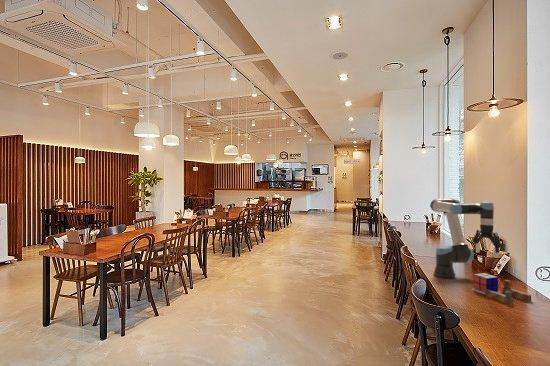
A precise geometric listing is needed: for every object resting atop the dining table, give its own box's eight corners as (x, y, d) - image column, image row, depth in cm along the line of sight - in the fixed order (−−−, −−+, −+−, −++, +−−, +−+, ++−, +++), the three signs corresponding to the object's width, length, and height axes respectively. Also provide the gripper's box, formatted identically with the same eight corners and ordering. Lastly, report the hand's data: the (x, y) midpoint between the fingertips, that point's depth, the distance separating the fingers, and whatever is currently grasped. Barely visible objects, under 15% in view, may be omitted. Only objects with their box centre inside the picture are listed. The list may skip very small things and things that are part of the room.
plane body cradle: (485, 295, 200) (484, 282, 200) (505, 292, 205) (505, 279, 205) (510, 305, 185) (510, 290, 185) (531, 301, 190) (531, 287, 190)
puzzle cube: (486, 293, 202) (486, 278, 202) (473, 288, 211) (473, 274, 211) (498, 291, 205) (498, 277, 205) (484, 287, 214) (484, 272, 214)
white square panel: (472, 289, 212) (472, 288, 212) (484, 287, 215) (484, 286, 215) (487, 295, 201) (487, 293, 201) (499, 293, 204) (499, 292, 204)
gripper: (466, 222, 223) (466, 251, 223) (500, 227, 198) (499, 259, 199) (474, 221, 225) (474, 250, 225) (508, 226, 200) (508, 259, 201)
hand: (486, 254), depth 212 cm, fingers open, 13 cm apart
